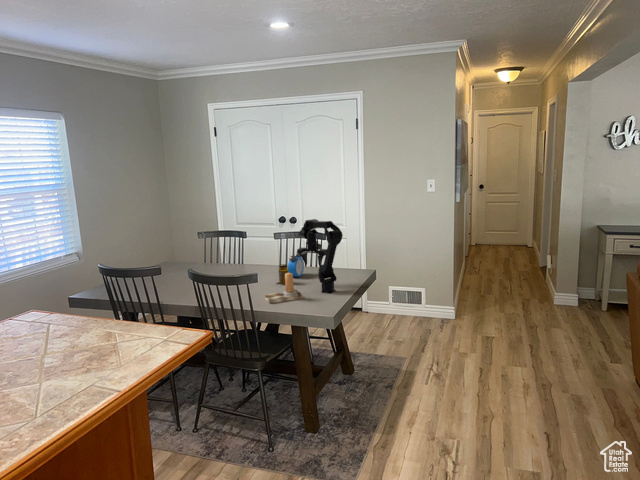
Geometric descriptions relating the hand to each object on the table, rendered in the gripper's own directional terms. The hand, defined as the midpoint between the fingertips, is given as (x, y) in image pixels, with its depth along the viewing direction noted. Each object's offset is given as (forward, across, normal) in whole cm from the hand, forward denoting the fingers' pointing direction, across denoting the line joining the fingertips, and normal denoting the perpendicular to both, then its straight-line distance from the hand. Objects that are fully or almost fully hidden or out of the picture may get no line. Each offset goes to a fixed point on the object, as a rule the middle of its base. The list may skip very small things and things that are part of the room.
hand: (312, 265), depth 284 cm
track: (+13, +4, +29) cm, 32 cm away
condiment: (+14, +22, +1) cm, 26 cm away
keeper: (+12, +1, +26) cm, 28 cm away
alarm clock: (+14, +22, -17) cm, 31 cm away
